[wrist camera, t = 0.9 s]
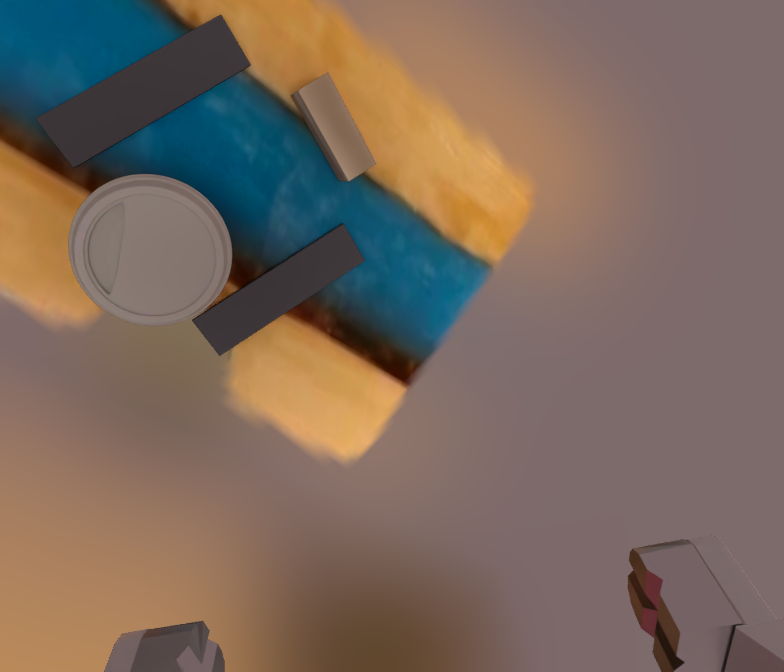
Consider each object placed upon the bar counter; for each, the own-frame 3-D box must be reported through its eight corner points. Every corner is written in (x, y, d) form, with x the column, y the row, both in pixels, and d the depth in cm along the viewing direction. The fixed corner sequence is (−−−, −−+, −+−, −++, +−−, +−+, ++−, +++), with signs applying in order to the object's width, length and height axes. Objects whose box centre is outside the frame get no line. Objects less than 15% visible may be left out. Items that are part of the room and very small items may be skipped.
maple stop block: (338, 180, 44) (348, 181, 41) (290, 95, 41) (297, 90, 38) (364, 164, 44) (376, 163, 41) (318, 78, 41) (328, 72, 39)
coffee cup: (155, 146, 39) (142, 138, 28) (246, 234, 43) (266, 256, 32) (68, 233, 39) (21, 258, 28) (167, 313, 42) (160, 363, 31)
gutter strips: (219, 354, 44) (219, 355, 44) (37, 119, 36) (35, 118, 36) (363, 259, 46) (364, 260, 46) (220, 15, 38) (221, 14, 38)
